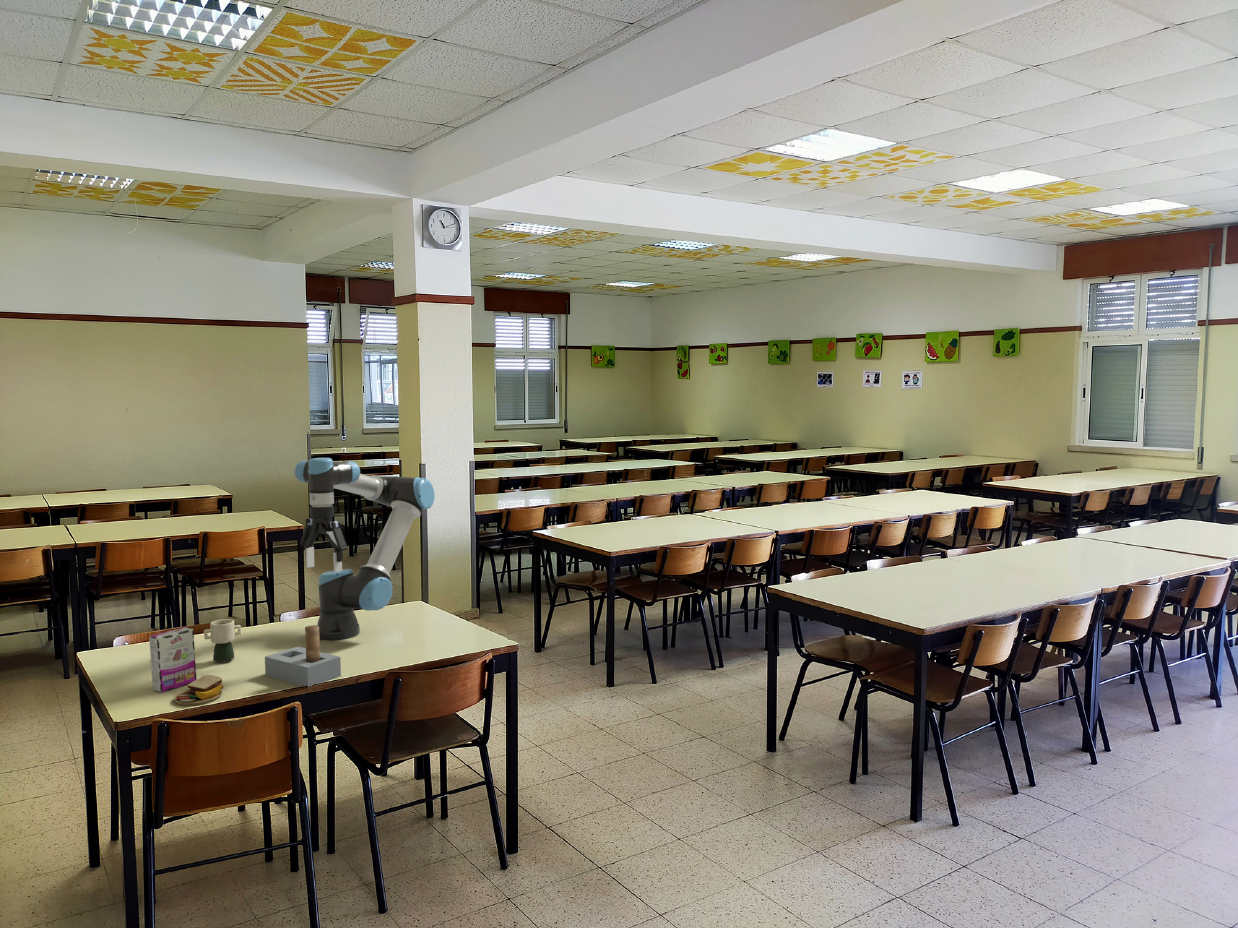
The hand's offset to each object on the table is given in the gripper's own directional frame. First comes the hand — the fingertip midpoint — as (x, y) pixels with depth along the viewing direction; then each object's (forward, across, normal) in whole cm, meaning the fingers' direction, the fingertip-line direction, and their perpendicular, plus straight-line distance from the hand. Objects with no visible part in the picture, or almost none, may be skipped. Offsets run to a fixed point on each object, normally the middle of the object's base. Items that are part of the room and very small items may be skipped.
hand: (324, 569), depth 282 cm
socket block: (+29, +11, -18) cm, 36 cm away
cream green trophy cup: (+29, -23, -22) cm, 43 cm away
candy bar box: (+29, -14, -44) cm, 54 cm away
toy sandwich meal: (+29, +1, -46) cm, 54 cm away
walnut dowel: (+27, +16, -18) cm, 36 cm away
